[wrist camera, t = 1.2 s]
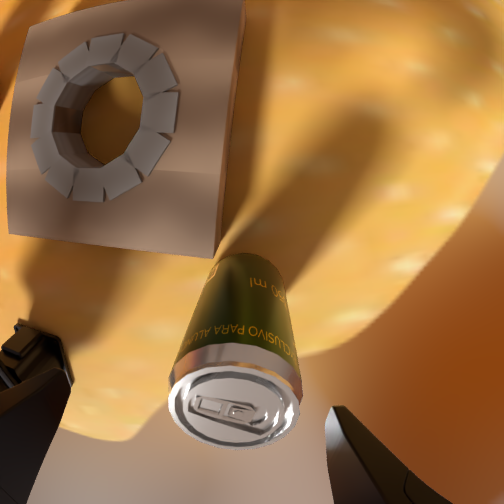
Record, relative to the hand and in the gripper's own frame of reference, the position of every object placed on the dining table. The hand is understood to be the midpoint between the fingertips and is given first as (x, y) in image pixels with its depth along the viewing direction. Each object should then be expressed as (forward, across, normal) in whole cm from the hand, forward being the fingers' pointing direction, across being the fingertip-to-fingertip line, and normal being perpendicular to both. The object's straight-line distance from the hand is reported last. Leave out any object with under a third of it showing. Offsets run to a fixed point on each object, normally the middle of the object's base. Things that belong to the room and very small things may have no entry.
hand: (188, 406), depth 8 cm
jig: (+13, +8, -10) cm, 18 cm away
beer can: (+13, -1, +2) cm, 14 cm away
